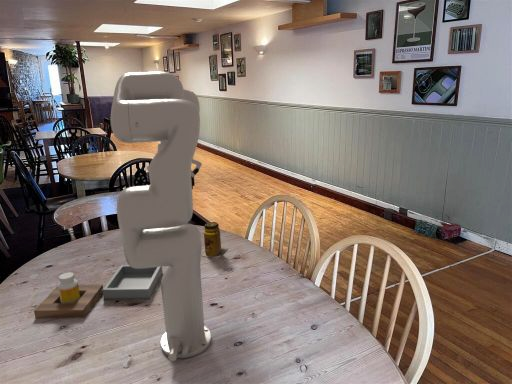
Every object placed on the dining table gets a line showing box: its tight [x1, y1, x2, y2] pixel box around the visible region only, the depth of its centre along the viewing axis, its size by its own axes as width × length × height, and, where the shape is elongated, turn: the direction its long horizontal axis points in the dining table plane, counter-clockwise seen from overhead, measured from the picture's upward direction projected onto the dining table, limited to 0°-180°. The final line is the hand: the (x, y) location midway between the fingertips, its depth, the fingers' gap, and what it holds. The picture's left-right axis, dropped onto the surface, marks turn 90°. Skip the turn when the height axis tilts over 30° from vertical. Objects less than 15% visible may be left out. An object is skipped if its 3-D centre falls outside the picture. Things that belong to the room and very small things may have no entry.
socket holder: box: [33, 283, 104, 319], centre depth 116 cm, size 14×14×2 cm
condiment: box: [201, 221, 228, 259], centre depth 147 cm, size 7×8×12 cm
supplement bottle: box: [57, 271, 80, 303], centre depth 115 cm, size 5×5×10 cm
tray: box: [102, 264, 164, 301], centre depth 126 cm, size 16×14×4 cm
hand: (176, 189), depth 128 cm, fingers open, 9 cm apart
